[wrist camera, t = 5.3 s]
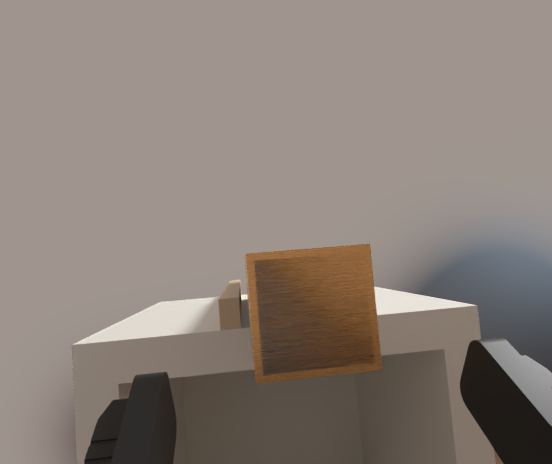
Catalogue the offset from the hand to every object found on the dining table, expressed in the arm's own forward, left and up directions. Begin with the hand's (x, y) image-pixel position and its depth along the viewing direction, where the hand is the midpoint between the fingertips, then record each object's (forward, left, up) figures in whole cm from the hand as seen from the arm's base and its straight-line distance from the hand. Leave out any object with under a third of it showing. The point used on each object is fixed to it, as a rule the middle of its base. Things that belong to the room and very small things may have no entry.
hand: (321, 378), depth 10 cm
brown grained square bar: (0, -12, 0) cm, 12 cm away
